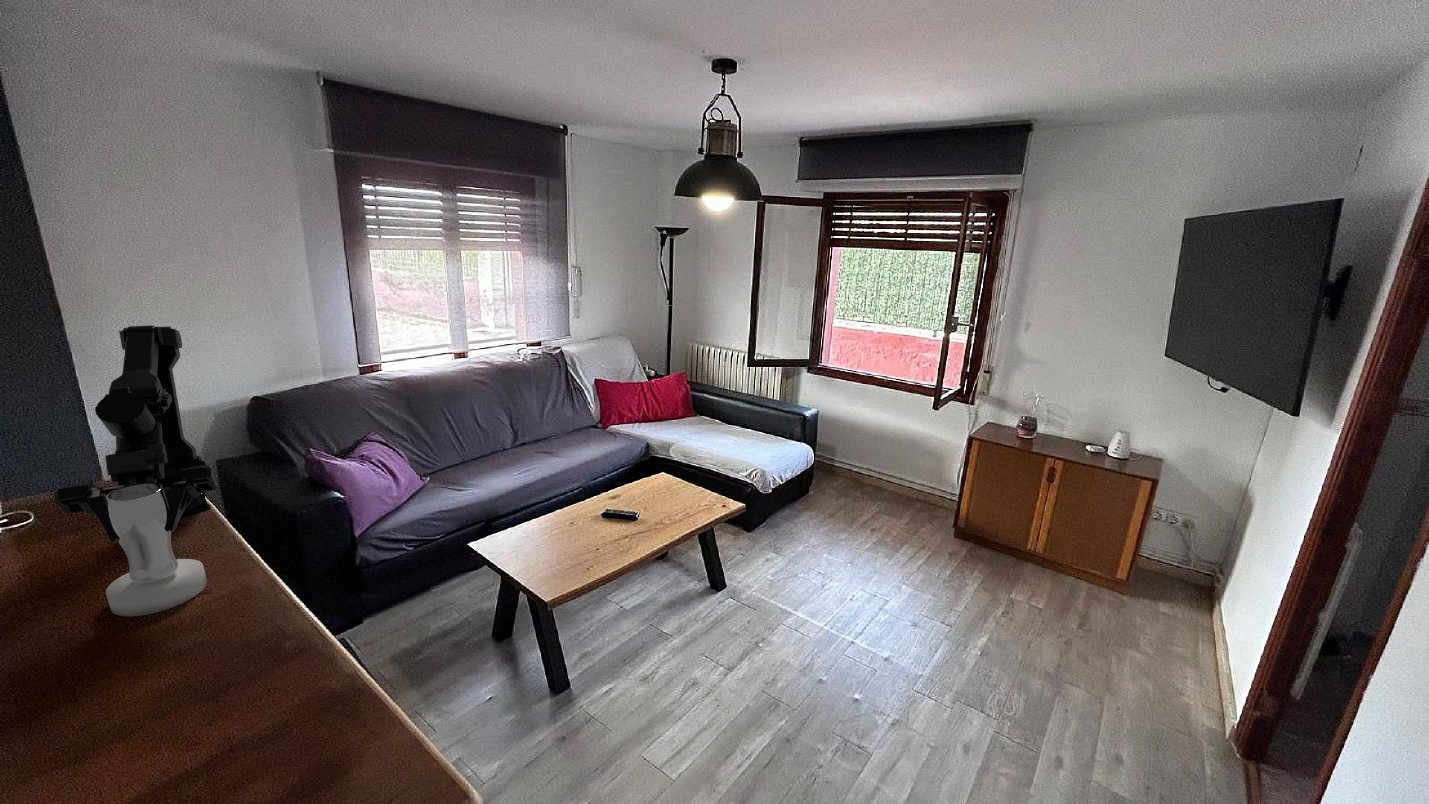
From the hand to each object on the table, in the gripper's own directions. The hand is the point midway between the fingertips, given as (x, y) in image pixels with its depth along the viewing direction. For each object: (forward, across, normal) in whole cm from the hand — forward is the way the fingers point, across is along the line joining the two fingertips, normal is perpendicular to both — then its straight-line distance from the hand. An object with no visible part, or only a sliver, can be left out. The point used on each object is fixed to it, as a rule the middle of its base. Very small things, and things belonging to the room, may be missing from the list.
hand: (143, 536), depth 95 cm
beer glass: (+4, 0, +6) cm, 8 cm away
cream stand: (+7, 0, +9) cm, 12 cm away
